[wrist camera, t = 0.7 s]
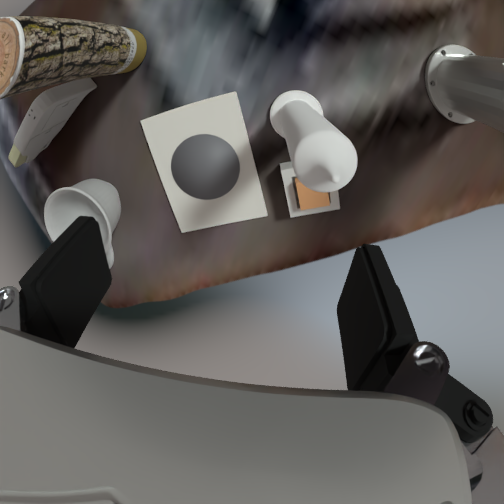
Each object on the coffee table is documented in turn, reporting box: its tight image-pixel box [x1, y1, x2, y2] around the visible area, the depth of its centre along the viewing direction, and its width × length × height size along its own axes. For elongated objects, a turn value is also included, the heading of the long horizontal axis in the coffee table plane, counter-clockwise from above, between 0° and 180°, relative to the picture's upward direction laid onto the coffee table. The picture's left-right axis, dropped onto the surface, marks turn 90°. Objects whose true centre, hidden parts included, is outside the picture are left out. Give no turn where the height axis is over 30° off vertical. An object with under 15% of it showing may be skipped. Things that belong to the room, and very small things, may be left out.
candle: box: [270, 90, 357, 193], centre depth 27 cm, size 7×7×25 cm
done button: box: [295, 178, 330, 210], centre depth 39 cm, size 4×4×2 cm
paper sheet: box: [140, 91, 268, 233], centre depth 41 cm, size 14×19×1 cm
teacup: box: [44, 179, 121, 269], centre depth 41 cm, size 12×15×10 cm
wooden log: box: [0, 16, 147, 99], centre depth 21 cm, size 7×7×25 cm
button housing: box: [280, 162, 340, 217], centre depth 41 cm, size 7×7×3 cm
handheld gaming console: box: [9, 78, 97, 167], centre depth 33 cm, size 11×3×15 cm
